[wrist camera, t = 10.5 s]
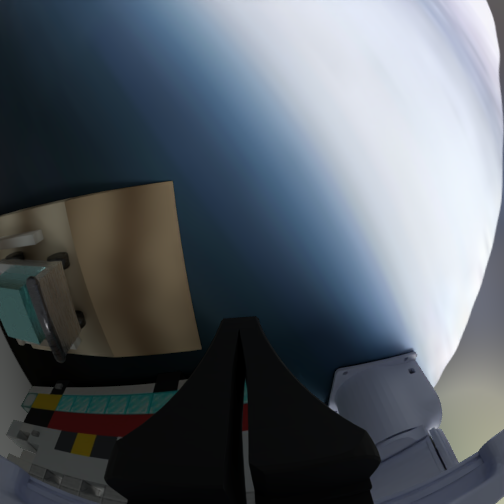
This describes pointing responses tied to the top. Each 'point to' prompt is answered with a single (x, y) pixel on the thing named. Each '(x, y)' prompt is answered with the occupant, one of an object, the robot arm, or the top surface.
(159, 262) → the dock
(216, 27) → the top surface
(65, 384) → the toy vehicle
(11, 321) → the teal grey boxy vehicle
